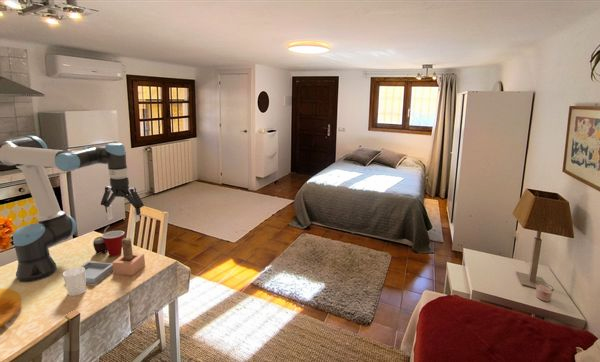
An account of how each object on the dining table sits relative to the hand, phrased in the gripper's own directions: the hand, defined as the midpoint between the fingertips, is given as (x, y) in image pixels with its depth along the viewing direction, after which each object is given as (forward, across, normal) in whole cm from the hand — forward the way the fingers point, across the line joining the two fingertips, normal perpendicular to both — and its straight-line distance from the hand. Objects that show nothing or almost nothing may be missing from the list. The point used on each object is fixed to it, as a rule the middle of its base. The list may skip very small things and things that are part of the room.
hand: (124, 220), depth 153 cm
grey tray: (+26, -14, -8) cm, 31 cm away
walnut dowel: (+26, 0, 0) cm, 26 cm away
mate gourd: (+26, -25, +14) cm, 39 cm away
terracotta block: (+26, 0, 0) cm, 26 cm away
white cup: (+26, -11, -21) cm, 35 cm away
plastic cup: (+26, -17, +13) cm, 34 cm away
